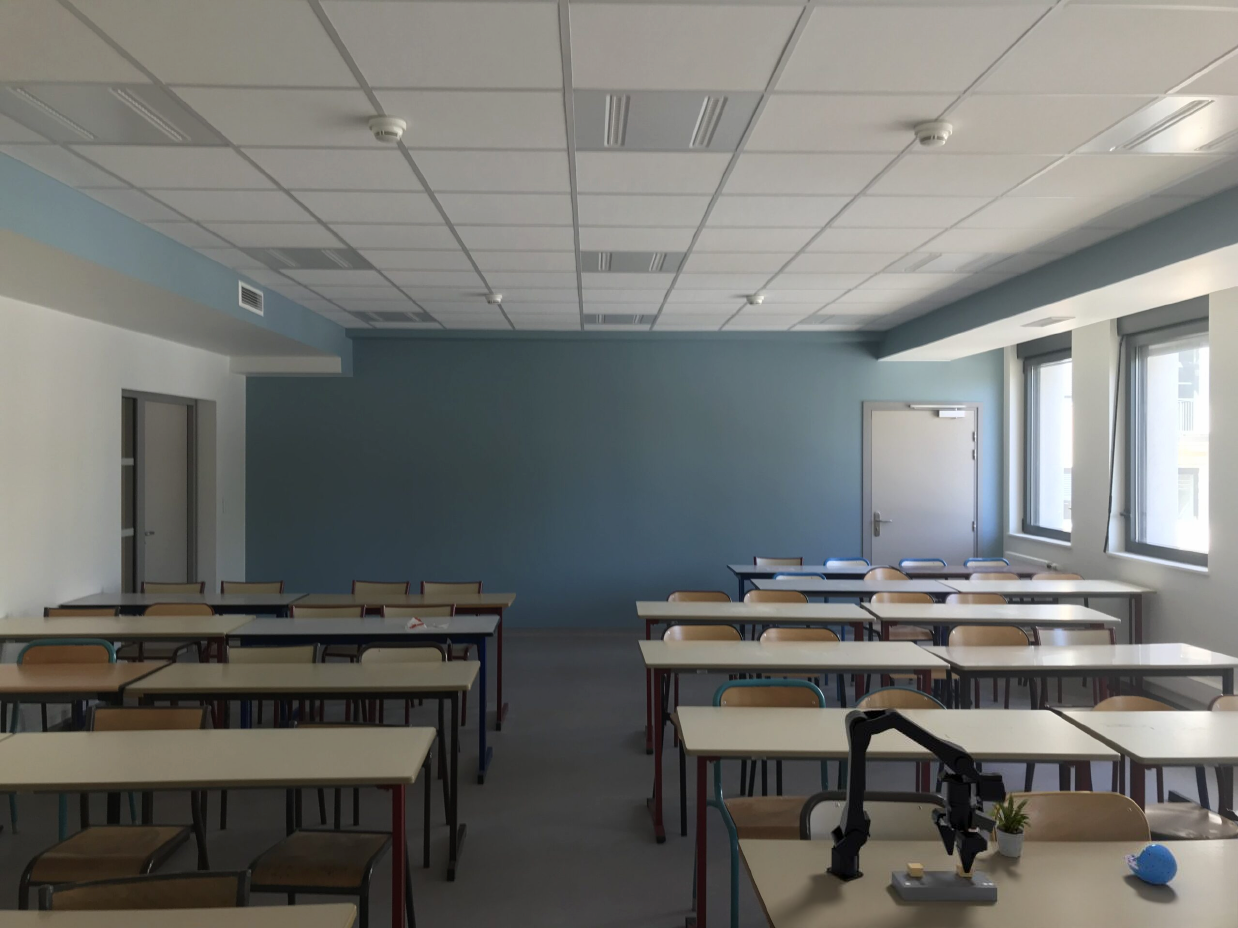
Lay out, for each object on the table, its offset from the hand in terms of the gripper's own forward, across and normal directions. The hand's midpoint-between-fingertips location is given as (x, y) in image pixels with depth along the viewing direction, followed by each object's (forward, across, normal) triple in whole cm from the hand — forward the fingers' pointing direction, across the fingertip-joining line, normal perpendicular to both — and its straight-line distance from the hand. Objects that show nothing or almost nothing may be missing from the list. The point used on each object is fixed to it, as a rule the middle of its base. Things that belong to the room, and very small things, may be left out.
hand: (958, 863), depth 198 cm
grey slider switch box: (+4, -5, +6) cm, 9 cm away
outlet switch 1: (+1, -3, +12) cm, 12 cm away
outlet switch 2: (+1, -3, 0) cm, 3 cm away
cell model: (+4, +1, -48) cm, 48 cm away
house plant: (+4, +16, -19) cm, 25 cm away
